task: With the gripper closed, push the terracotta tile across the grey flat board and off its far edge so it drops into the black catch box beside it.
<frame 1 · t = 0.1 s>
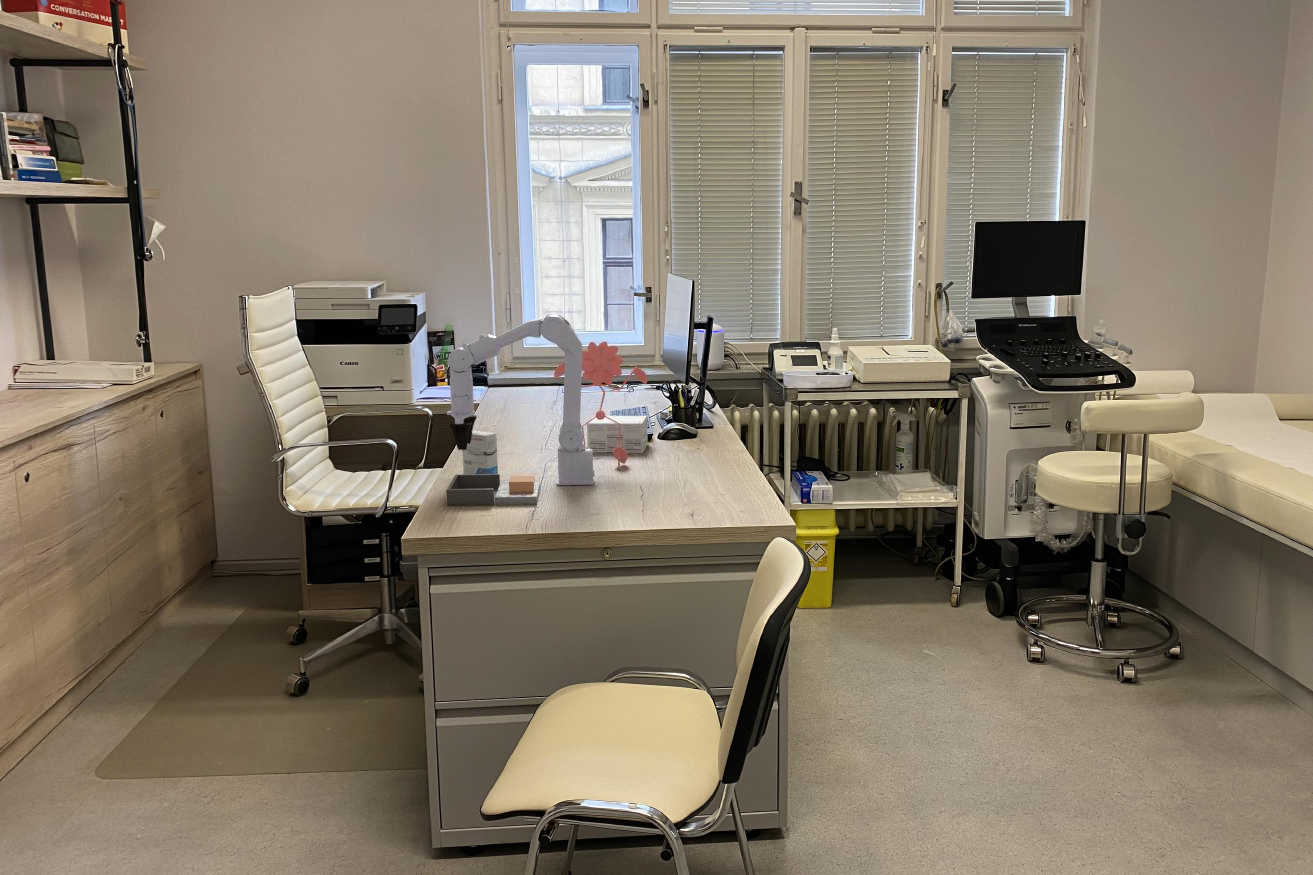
hand: (464, 446, 262), 10 cm above the table, tool pointing down, fingers open, 7 cm apart
catch box: (474, 497, 251), on the table
ink box: (480, 475, 274), on the table
grey flat board: (518, 496, 251), on the table
figurine: (602, 465, 286), on the table
tile: (522, 488, 251), point 2 cm above the table, touching grey flat board
supplement box: (618, 449, 308), on the table
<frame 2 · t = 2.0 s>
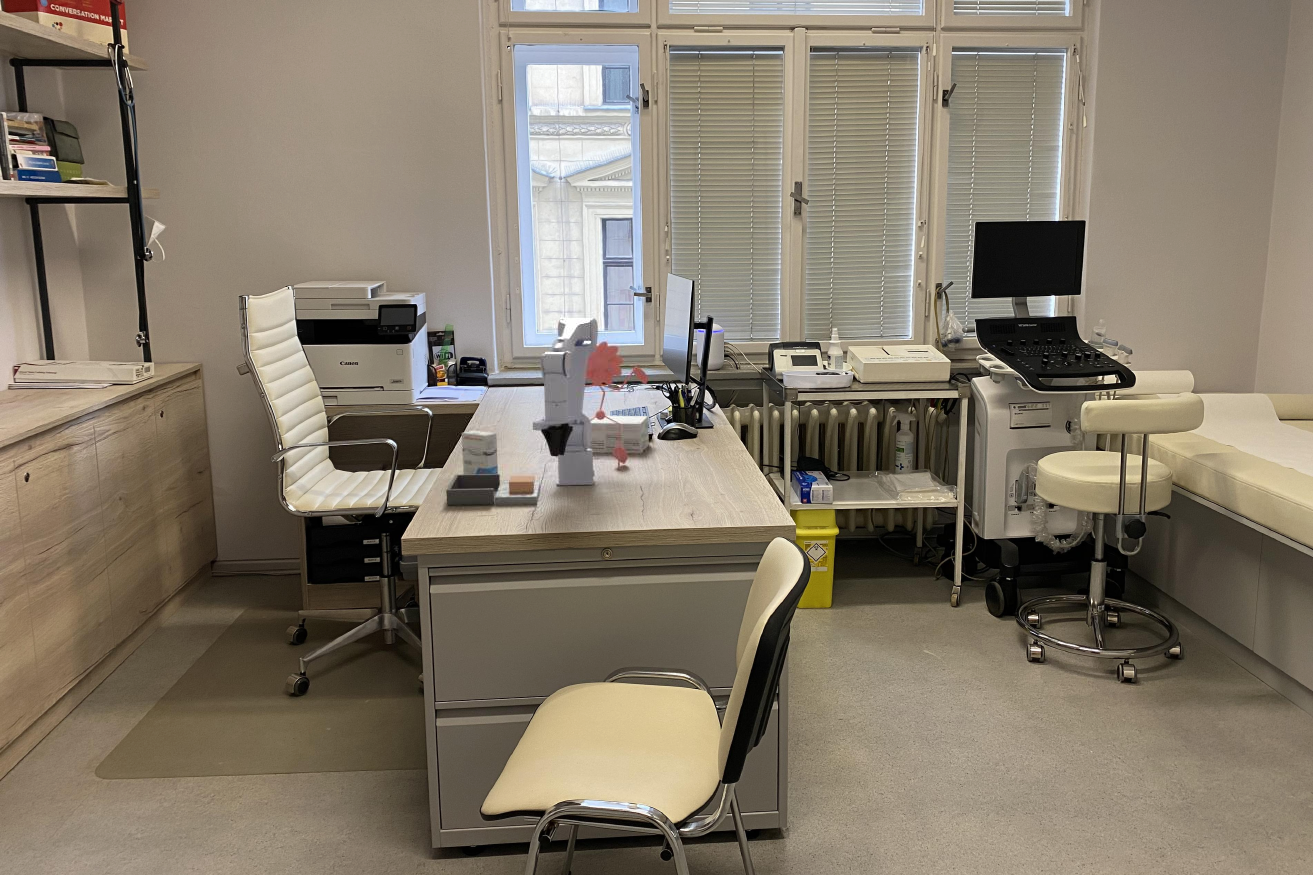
hand: (557, 455, 249), 10 cm above the table, tool pointing down, fingers closed
nothing on the table moved.
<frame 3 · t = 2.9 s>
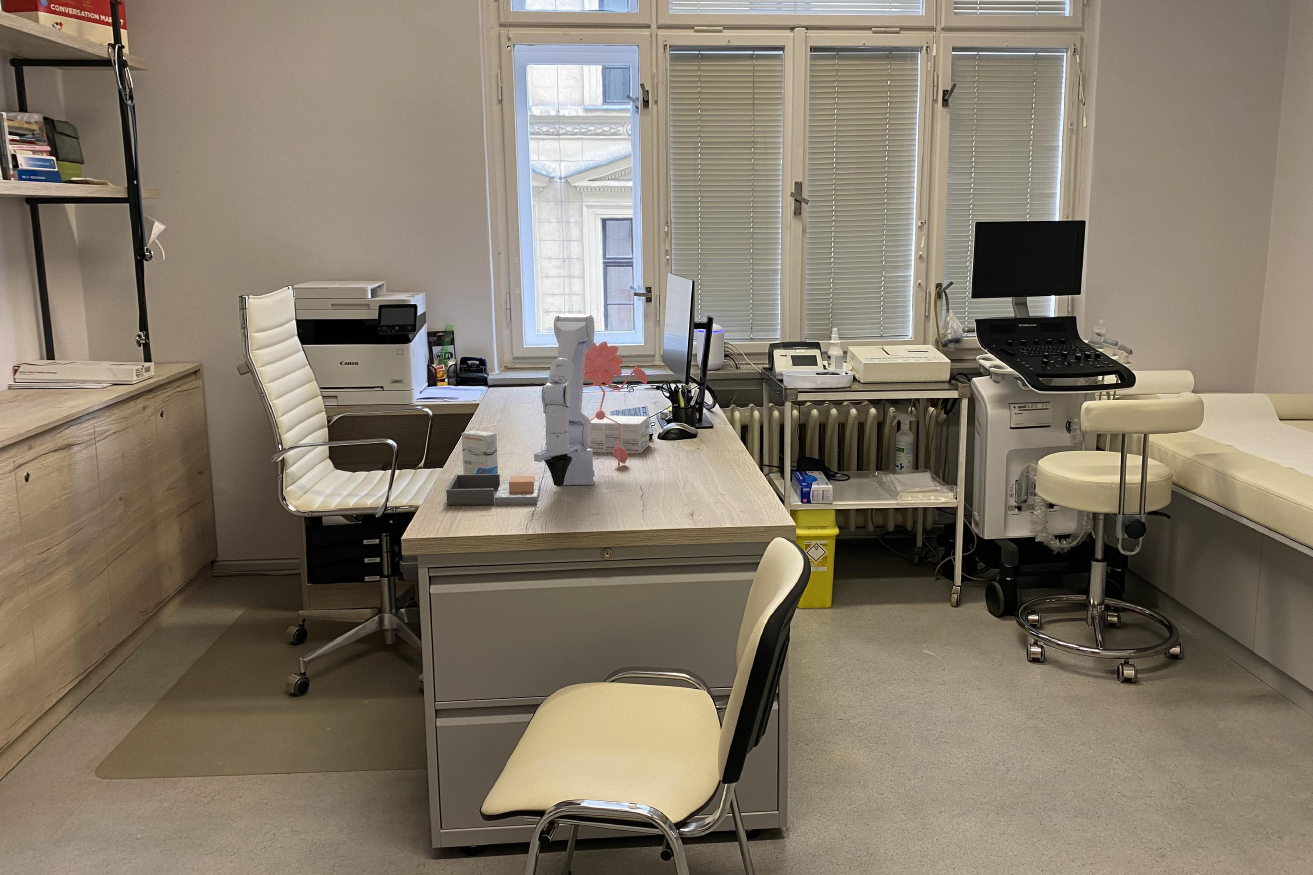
hand: (558, 485, 251), 3 cm above the table, tool pointing down, fingers closed
nothing on the table moved.
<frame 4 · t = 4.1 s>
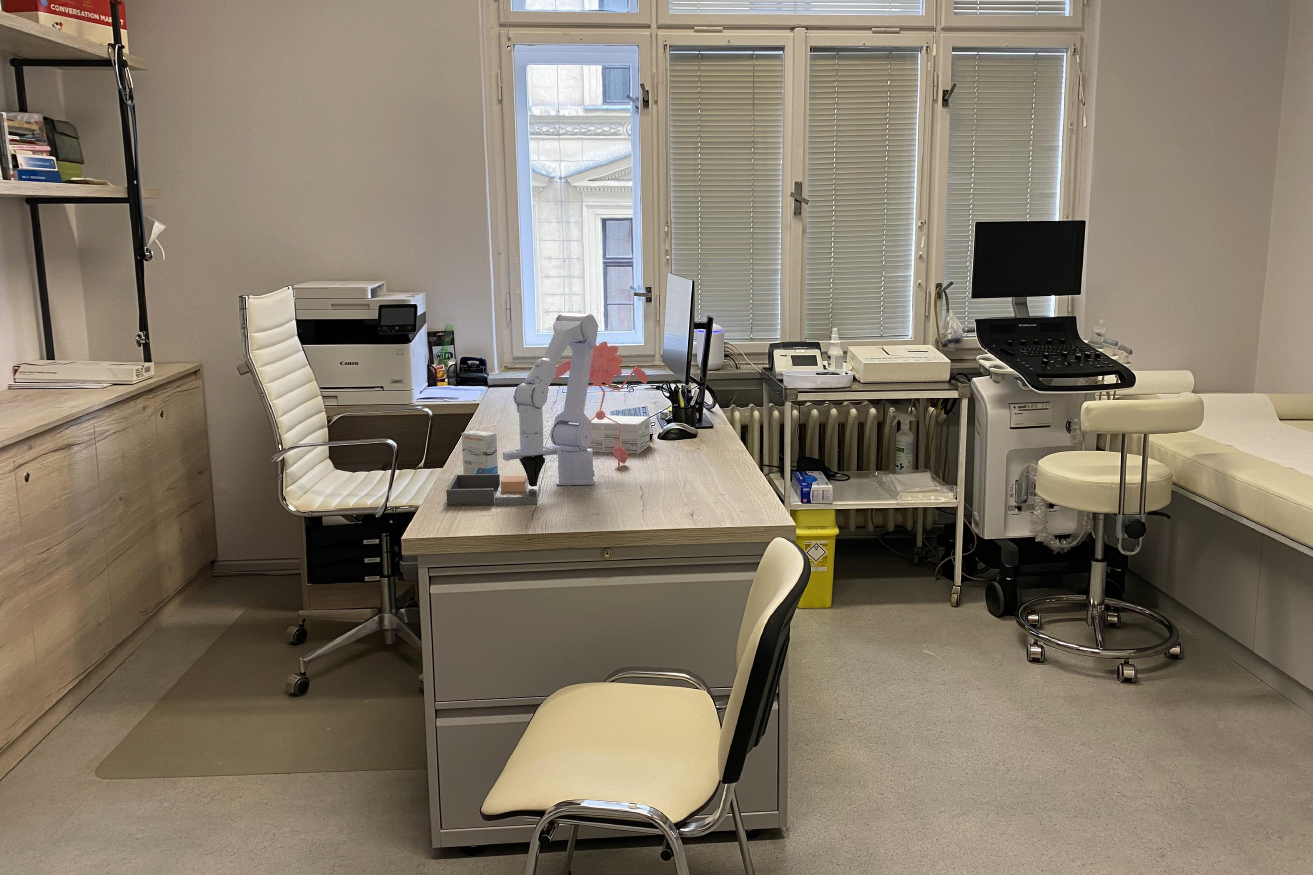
hand: (532, 485, 251), 3 cm above the table, tool pointing down, fingers closed
tile: (514, 488, 251), point 2 cm above the table, touching gripper, grey flat board
everything else where it was.
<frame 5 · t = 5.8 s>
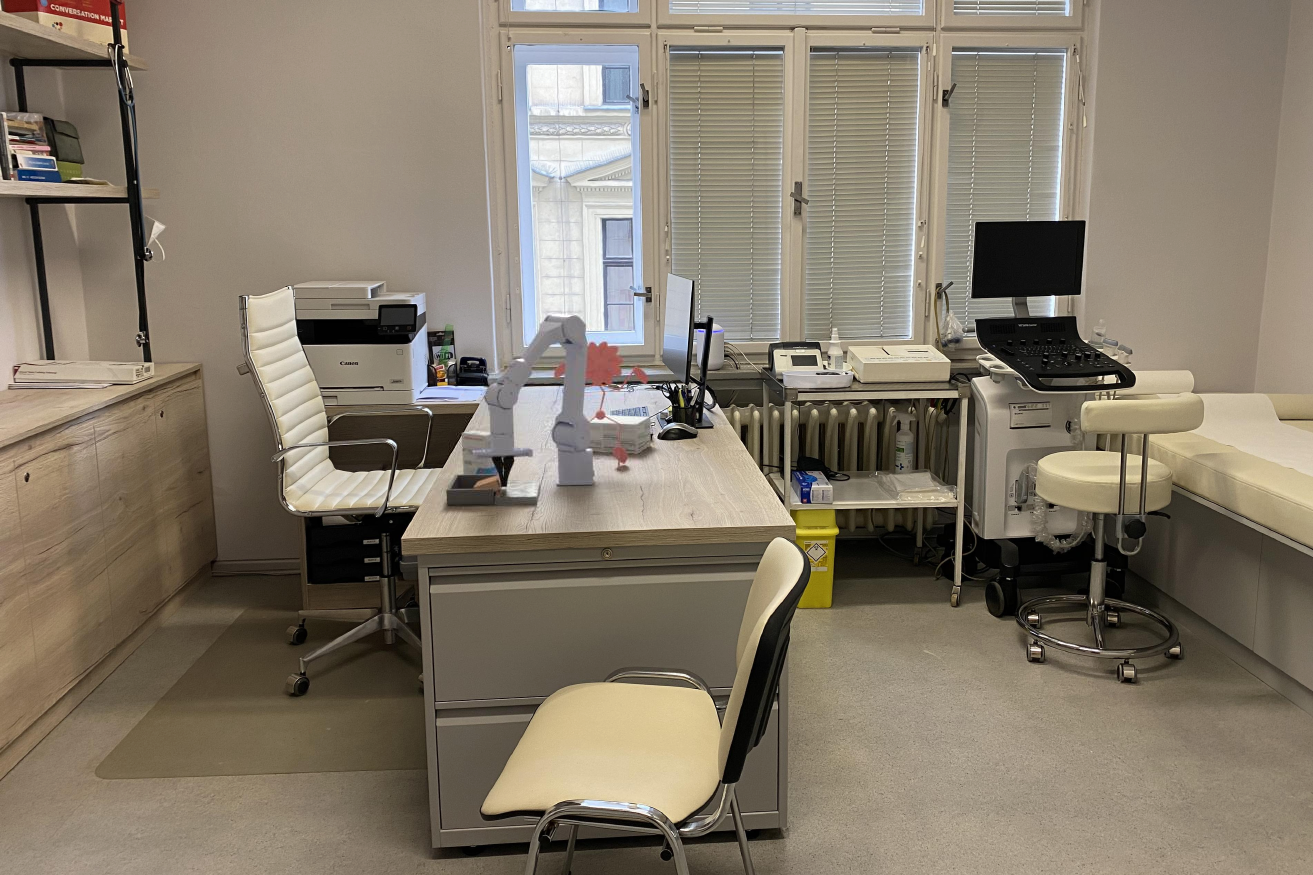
hand: (503, 486, 251), 3 cm above the table, tool pointing down, fingers closed
tile: (490, 490, 252), point 1 cm above the table, tilted 17°
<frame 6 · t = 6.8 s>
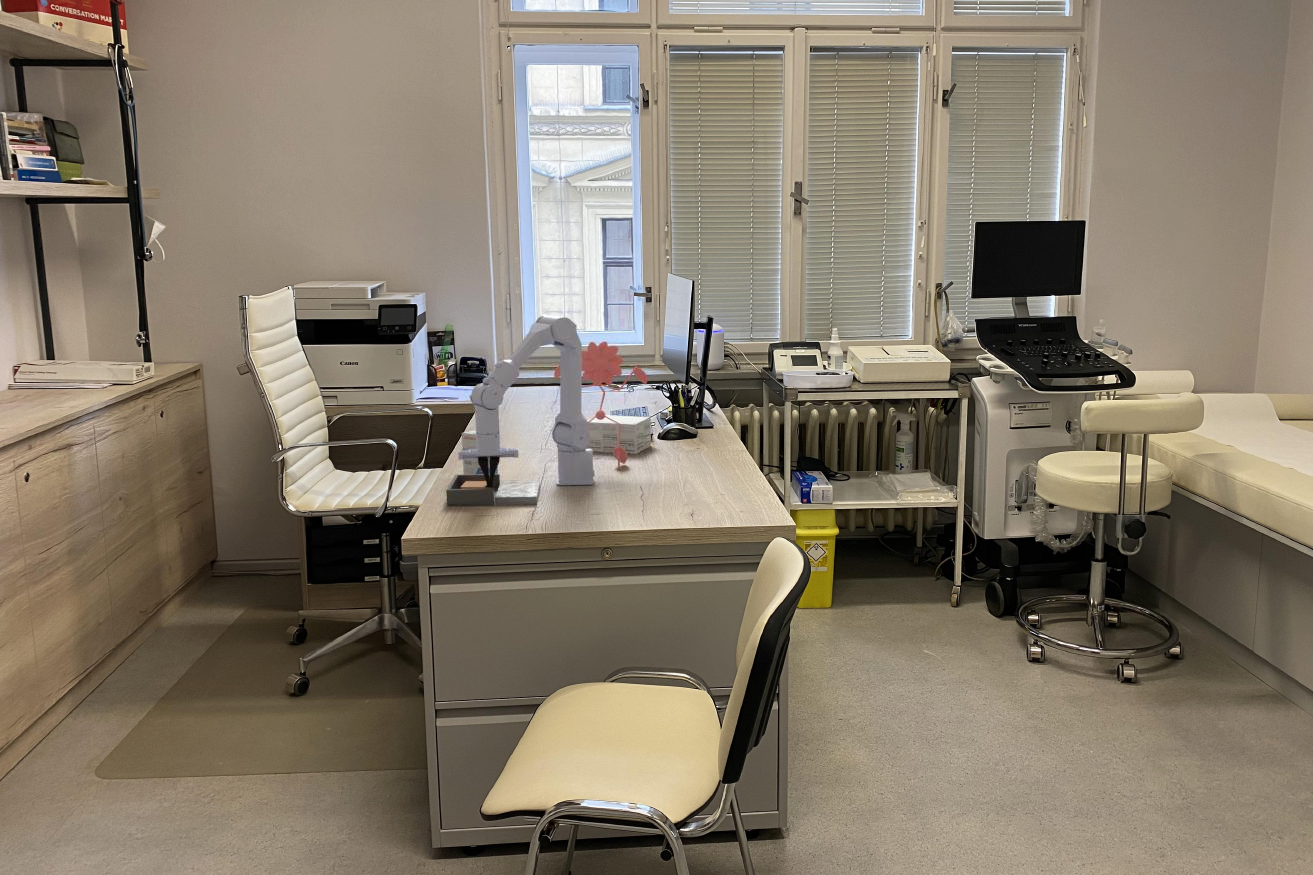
hand: (489, 486, 250), 3 cm above the table, tool pointing down, fingers closed
tile: (475, 493, 252), resting on catch box, touching gripper
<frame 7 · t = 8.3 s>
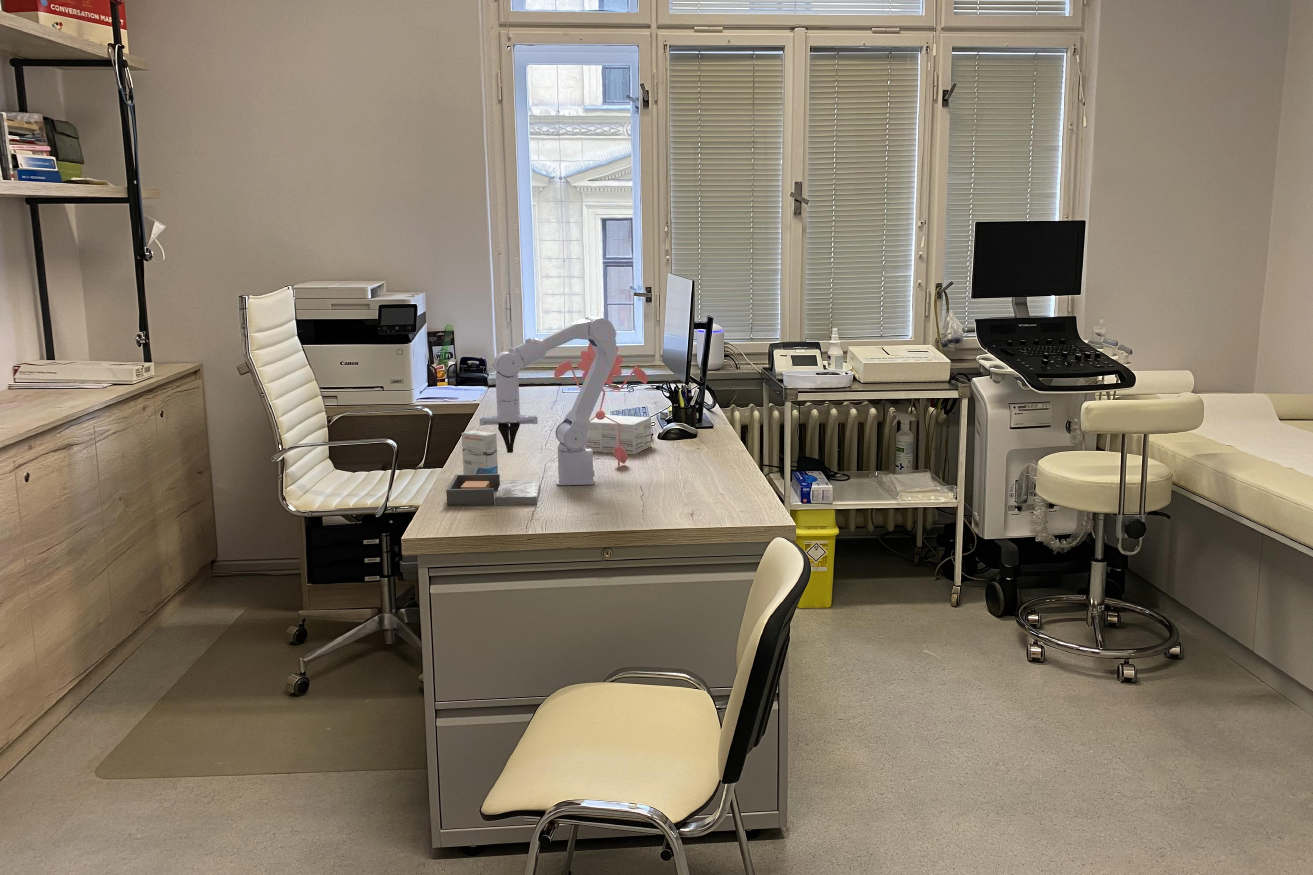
hand: (510, 452, 259), 9 cm above the table, tool pointing down, fingers closed
tile: (475, 493, 252), resting on catch box
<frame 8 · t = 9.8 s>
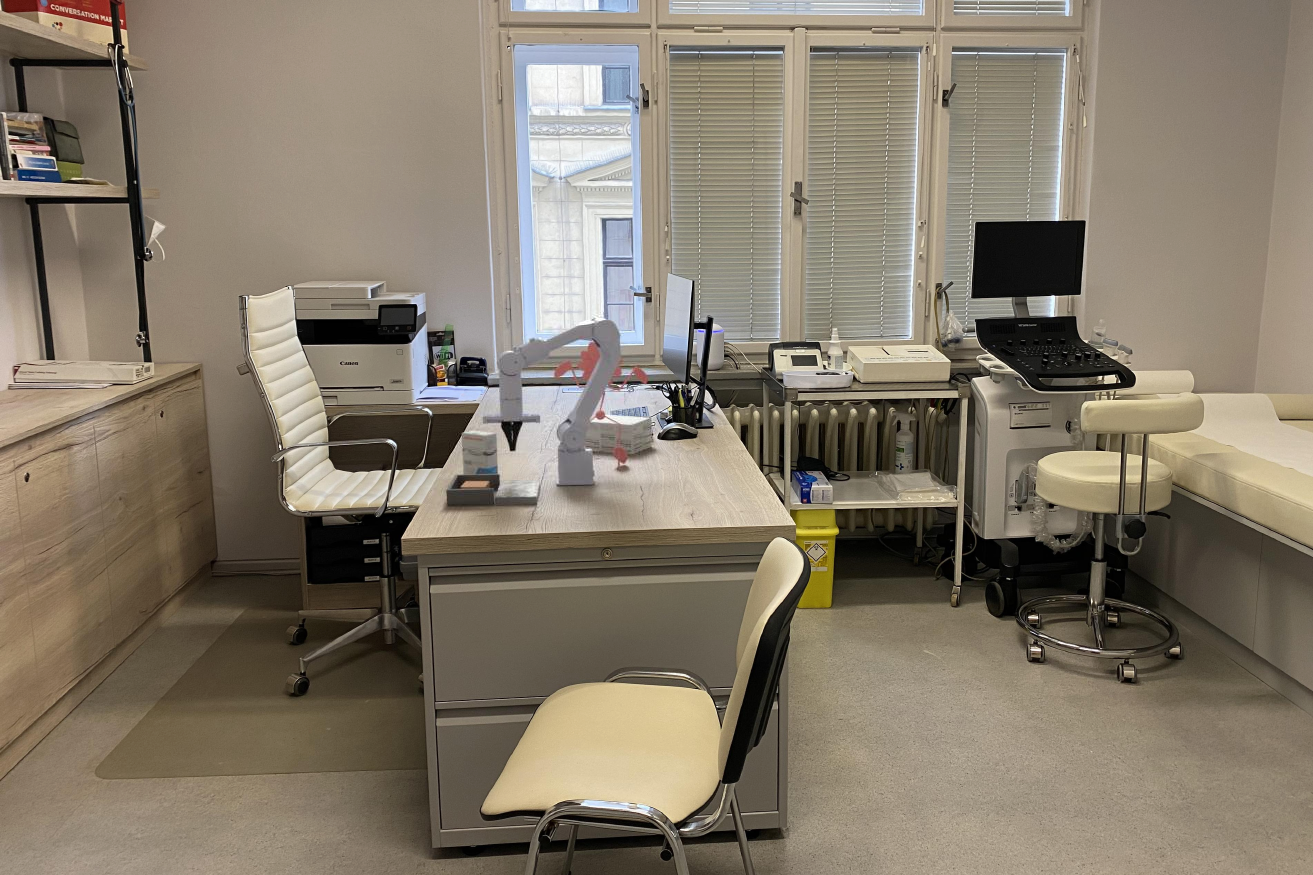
hand: (512, 450, 260), 9 cm above the table, tool pointing down, fingers closed
at the end: tile inside the target area on the catch box (1.7 cm from its centre), point 0.5 cm above the catch box's base; tile touching catch box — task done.
